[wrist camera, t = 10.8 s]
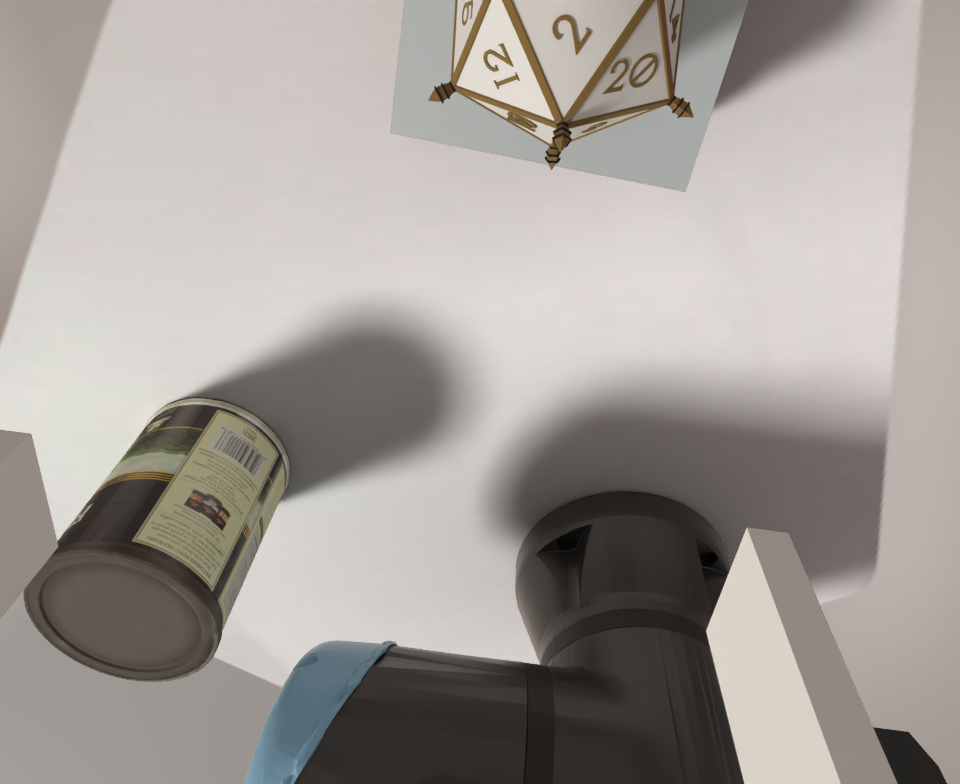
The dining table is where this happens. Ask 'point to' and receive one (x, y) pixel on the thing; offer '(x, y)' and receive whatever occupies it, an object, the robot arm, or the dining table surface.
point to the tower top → (610, 152)
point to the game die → (566, 63)
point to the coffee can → (163, 544)
